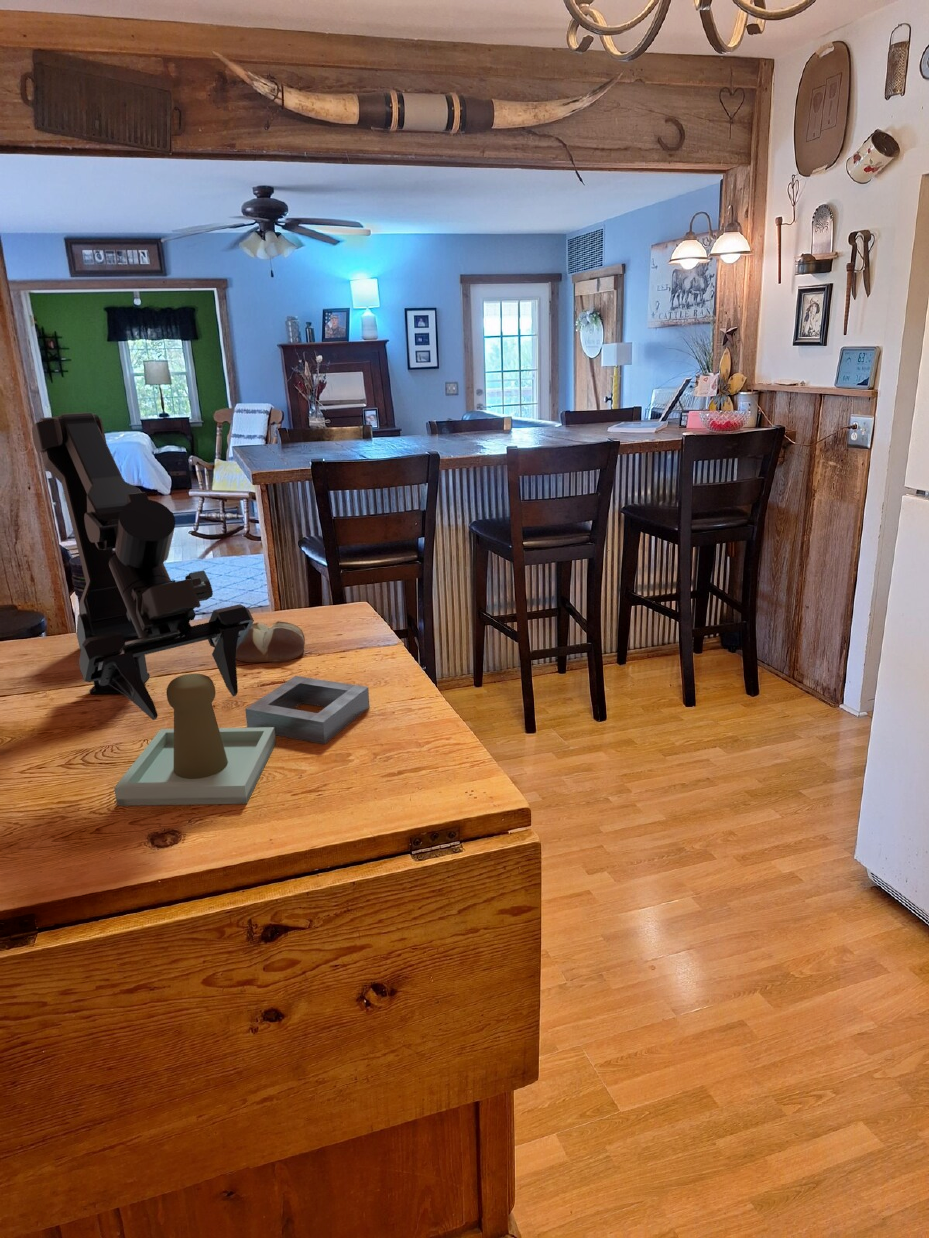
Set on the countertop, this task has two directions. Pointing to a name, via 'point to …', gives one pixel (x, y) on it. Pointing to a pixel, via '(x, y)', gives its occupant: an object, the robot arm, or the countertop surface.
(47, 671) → the countertop surface
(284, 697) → the metal collar
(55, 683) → the countertop surface
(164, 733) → the green tray
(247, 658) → the bread
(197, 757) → the olive pepper mill
